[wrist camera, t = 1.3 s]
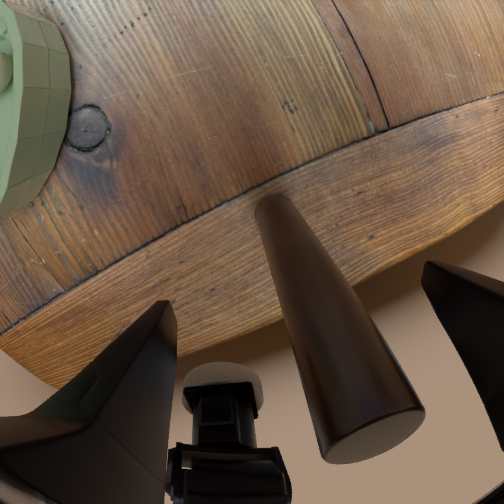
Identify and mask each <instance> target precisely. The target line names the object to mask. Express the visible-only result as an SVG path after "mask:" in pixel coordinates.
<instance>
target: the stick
mask: <svg viewBox="0 0 504 504" xmlns="http://www.w3.org/2000/svg"><path fill="white" fill-rule="evenodd" d="M255 218H256V222H257V226H258V229H259V232H260V236H261V239H262V243H263V246H264V250H265V253H266V257H267V260H268V264H269V267H270V271H271V274H272V278H273V281H274V285H275V288H276V292H277V295H278V299H279V302H280V306H281V309H282V313H283V317H284V320H285V324H286V327H287V331H288V334H289V338H290V342H291V345H292V349H293V353H294V356H295V360H296V364H297V367H298V371H299V374H300V378H301V382H302V386H303V389H304V393H305V396H306V400H307V404H308V408H309V412H310V415H311V419H312V423H313V426H314V430H315V434H316V438H317V442H318V445H319V449H320V453H321V457H322V458H323V459H324V460H325V461H326V462H327V463H330V464H349V463H354V462H359V461H363V460H366V459H369V458H372V457H375V456H377V455H380V454H382V453H384V452H386V451H388V450H390V449H392V448H393V447H395V446H397V445H398V444H400V443H401V442H403V441H404V440H406V439H407V438H408V437H409V436H410V435H412V434H413V433H414V432H415V431H416V430H417V429H418V428H419V427H420V425H421V424H422V423H423V421H424V419H425V408H424V406H423V404H422V403H421V401H420V399H419V397H418V395H417V393H416V392H415V390H414V388H413V386H412V385H411V383H410V381H409V379H408V378H407V376H406V374H405V372H404V371H403V369H402V367H401V365H400V364H399V362H398V360H397V359H396V357H395V355H394V354H393V352H392V350H391V349H390V347H389V345H388V344H387V342H386V340H385V339H384V337H383V336H382V334H381V332H380V331H379V329H378V328H377V326H376V324H375V323H374V321H373V320H372V318H371V316H370V315H369V314H368V312H367V310H366V309H365V307H364V306H363V304H362V302H361V301H360V299H359V298H358V296H357V295H356V293H355V292H354V290H353V289H352V287H351V286H350V284H349V283H348V281H347V280H346V278H345V277H344V275H343V274H342V272H341V271H340V269H339V268H338V267H337V265H336V264H335V262H334V261H333V259H332V258H331V256H330V255H329V253H328V252H327V251H326V249H325V248H324V246H323V245H322V244H321V242H320V241H319V239H318V238H317V236H316V235H315V234H314V232H313V231H312V230H311V228H310V227H309V225H308V224H307V223H306V221H305V220H304V219H303V217H302V216H301V214H300V213H299V212H298V210H297V209H296V208H295V206H294V205H293V204H292V202H291V201H290V200H289V199H288V198H286V197H284V196H282V195H270V196H268V197H266V198H264V199H263V200H261V202H260V203H259V204H258V206H257V208H256V211H255Z"/></svg>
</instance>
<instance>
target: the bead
mask: <svg viewBox="0 0 504 504" xmlns="http://www.w3.org/2000/svg"><path fill="white" fill-rule="evenodd" d="M12 71H13V65H12V61H11V59H10V57H9V56H8V55H7V54H6V53H4V52H1V51H0V93H1V92H2V91H3V90H4V89H5V88H6V87H7V85H8V83H9V81H10V79H11V76H12Z"/></svg>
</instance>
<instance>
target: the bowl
mask: <svg viewBox="0 0 504 504" xmlns="http://www.w3.org/2000/svg"><path fill="white" fill-rule="evenodd" d="M0 51H1V52H4V53H6V54H7V55H8V56H9V57H10V59H11V61H12V65H13V71H12V76H11V79H10V81H9V83H8V85H7V87H6V88H5V89H4V90H3V91H2V92H1V93H0V226H2V225H3V224H4V223H6V222H7V221H9V220H10V219H12V218H13V217H15V216H16V215H18V214H19V213H20V212H21V211H22V210H23V209H24V208H25V207H27V206H28V205H29V204H30V203H31V202H32V201H33V200H34V199H35V198H36V197H37V196H38V194H39V192H40V190H41V189H42V187H43V185H44V183H45V182H46V180H47V178H48V177H49V175H50V173H51V172H52V170H53V168H54V166H55V162H56V159H57V156H58V153H59V150H60V147H61V144H62V141H63V138H64V135H65V132H66V127H67V118H68V111H69V104H70V97H71V78H70V63H69V55H68V51H67V49H66V46H65V44H64V41H63V39H62V36H61V34H60V31H59V29H58V27H57V26H56V25H55V24H53V23H52V22H51V21H50V20H49V19H48V18H46V17H45V16H44V15H43V14H41V13H39V12H36V11H34V10H31V9H29V8H26V7H24V6H21V5H18V4H16V3H13V2H10V1H7V0H0Z"/></svg>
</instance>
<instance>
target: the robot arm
mask: <svg viewBox="0 0 504 504" xmlns="http://www.w3.org/2000/svg"><path fill="white" fill-rule="evenodd" d="M421 285H422V287H423V289H424V291H425V293H426V295H427V297H428V299H429V301H430V303H431V305H432V307H433V309H434V311H435V313H436V315H437V317H438V319H439V321H440V322H441V324H442V325H443V327H444V329H445V331H446V332H447V334H448V336H449V337H450V339H451V341H452V343H453V344H454V346H455V348H456V350H457V352H458V354H459V355H460V357H461V359H462V361H463V363H464V365H465V367H466V369H467V370H468V373H469V375H470V377H471V378H472V381H473V383H474V385H475V387H476V389H477V391H478V393H479V395H480V398H481V399H482V402H483V404H484V405H485V406H484V407H485V409H486V411H487V414H488V416H489V418H490V421H491V423H492V425H493V428H494V431H495V433H496V436H497V439H498V441H499V444H500V447H501V449H502V451H503V452H504V282H502V281H499V280H497V279H494V278H490V277H488V276H485V275H482V274H479V273H476V272H473V271H470V270H467V269H464V268H461V267H458V266H455V265H452V264H449V263H446V262H443V261H440V260H436V259H432V260H427V261H426V262H425V264H424V269H423V273H422V278H421ZM176 365H177V321H176V317H175V314H174V311H173V308H172V305H171V302H170V301H169V300H162V301H157V302H156V303H154V304H153V305H152V306H151V307H150V308H149V309H148V310H147V311H146V312H145V313H143V314H142V315H141V316H140V317H139V318H138V319H137V320H136V321H135V322H134V323H132V324H131V325H130V326H129V327H128V328H127V329H126V330H125V331H124V332H123V333H122V334H121V335H119V336H118V337H117V338H116V339H115V340H114V341H113V342H112V343H111V344H110V345H109V346H108V347H107V348H105V349H104V350H103V351H102V352H101V353H100V354H99V355H98V356H97V357H96V358H95V359H94V360H93V361H92V362H90V363H89V364H88V365H87V366H86V367H85V368H84V369H83V370H82V371H81V372H80V373H79V374H78V375H76V376H75V377H74V378H73V379H72V380H71V381H69V382H68V383H67V384H66V385H65V386H63V387H62V388H61V389H60V390H59V391H57V392H56V393H55V394H54V395H52V396H51V397H50V398H49V399H47V400H46V401H45V402H44V403H43V404H41V405H40V406H39V407H38V408H36V409H35V410H33V411H31V412H30V413H27V414H25V415H21V416H8V417H0V504H164V495H165V492H166V493H167V494H168V495H169V496H170V497H171V501H173V504H291V500H292V488H291V482H290V478H289V475H288V473H287V470H286V467H285V465H284V462H283V459H282V456H281V454H280V451H279V448H278V447H271V448H257V444H256V435H255V427H254V419H257V418H258V410H257V405H256V399H255V394H254V388H253V384H252V382H249V381H246V382H238V383H228V384H218V385H205V386H190V387H184V388H183V394H184V396H185V398H186V400H187V402H188V405H189V407H190V409H191V411H192V413H193V429H192V445H190V444H183V443H181V442H176V448H175V447H174V448H172V449H169V450H168V461H167V449H168V438H169V427H170V418H171V409H172V399H173V391H174V383H175V375H176ZM166 462H167V470H166ZM182 467H189V468H190V469H182ZM165 476H166V477H165ZM472 504H504V481H502V482H501V483H500V484H499V485H498V486H496V487H495V488H493V489H492V490H491V491H490V492H488V493H487V494H485V495H484V496H483V497H481V498H480V499H478V500H477V501H475V502H474V503H472Z"/></svg>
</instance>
